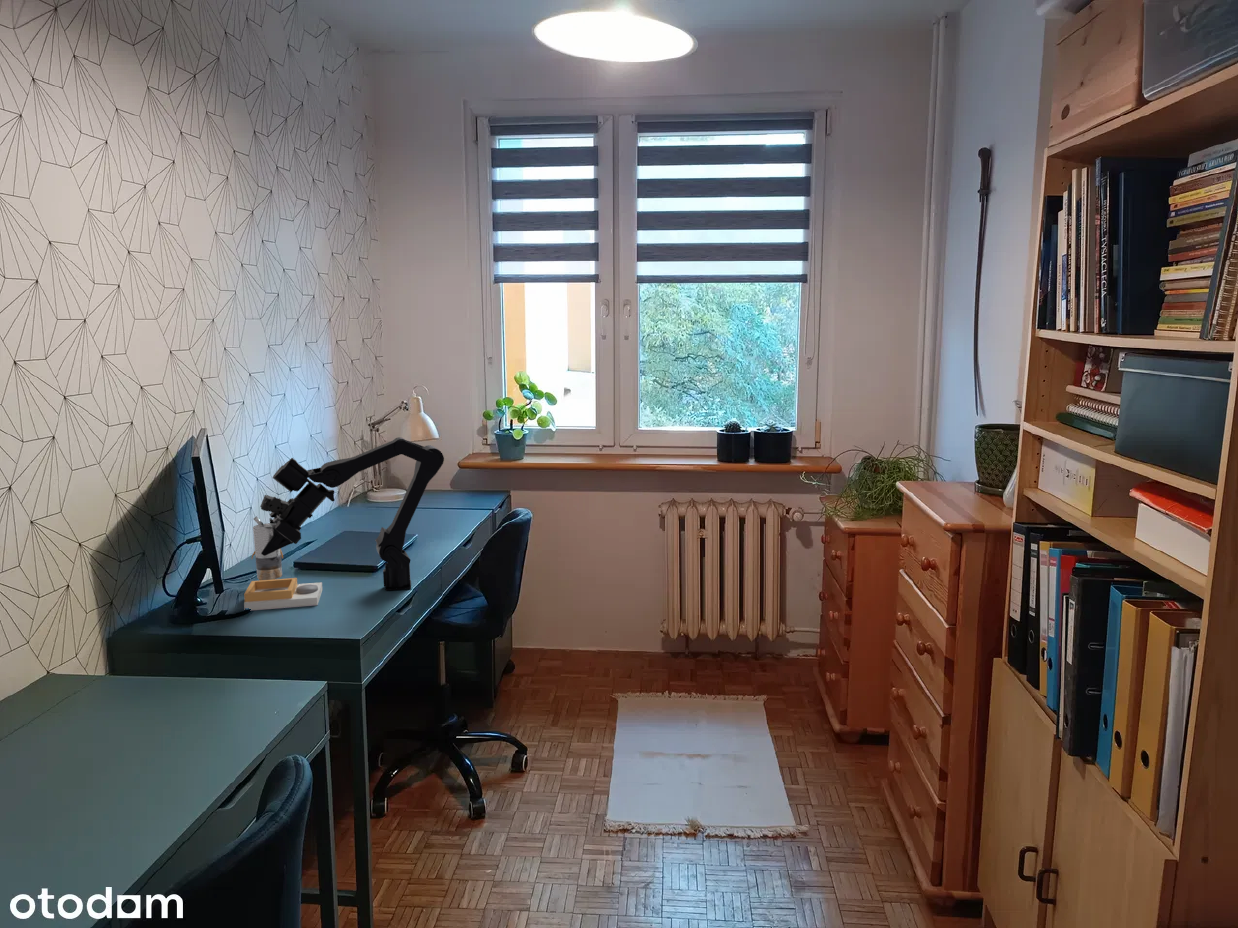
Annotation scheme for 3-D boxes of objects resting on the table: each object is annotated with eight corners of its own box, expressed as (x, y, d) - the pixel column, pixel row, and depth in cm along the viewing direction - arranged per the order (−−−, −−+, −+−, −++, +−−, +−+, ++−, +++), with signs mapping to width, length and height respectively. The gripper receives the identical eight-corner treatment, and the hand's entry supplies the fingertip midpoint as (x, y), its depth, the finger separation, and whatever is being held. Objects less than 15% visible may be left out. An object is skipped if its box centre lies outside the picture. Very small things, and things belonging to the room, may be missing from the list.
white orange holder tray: (322, 589, 234) (321, 574, 233) (317, 605, 221) (316, 589, 221) (253, 594, 230) (252, 579, 229) (244, 610, 217) (243, 595, 217)
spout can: (286, 573, 225) (281, 513, 223) (276, 580, 219) (271, 519, 217) (263, 573, 226) (258, 513, 223) (252, 580, 220) (247, 519, 217)
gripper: (276, 477, 228) (233, 524, 226) (282, 490, 212) (236, 540, 209) (310, 504, 233) (269, 550, 230) (319, 518, 216) (275, 568, 214)
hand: (261, 551), depth 221 cm, fingers closed on spout can, 6 cm apart
